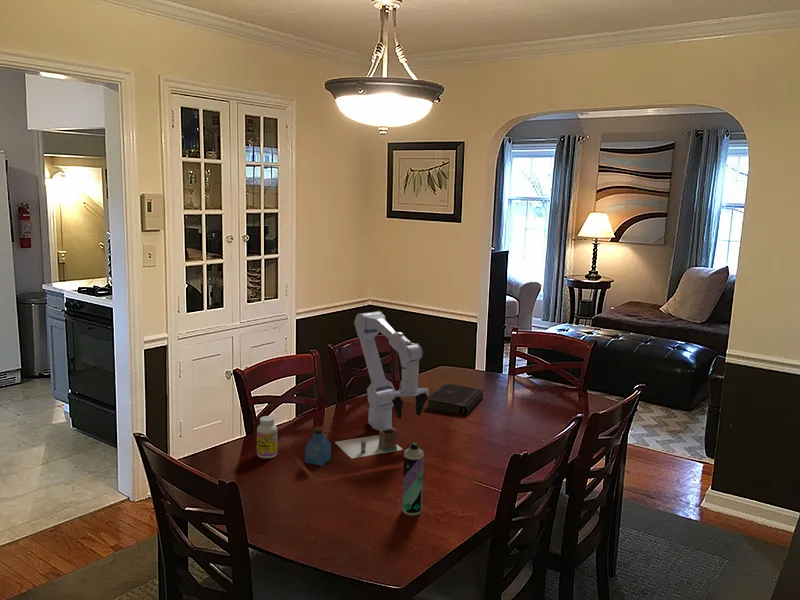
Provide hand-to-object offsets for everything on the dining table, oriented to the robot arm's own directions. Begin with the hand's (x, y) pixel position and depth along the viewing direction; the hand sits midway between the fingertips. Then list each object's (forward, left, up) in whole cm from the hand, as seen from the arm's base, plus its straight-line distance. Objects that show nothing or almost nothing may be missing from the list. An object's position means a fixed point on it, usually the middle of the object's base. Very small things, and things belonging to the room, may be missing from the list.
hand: (408, 416), depth 237 cm
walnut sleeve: (+4, -10, -9) cm, 14 cm away
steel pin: (+4, -19, -9) cm, 21 cm away
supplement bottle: (-9, -48, -10) cm, 50 cm away
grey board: (0, -15, -10) cm, 18 cm away
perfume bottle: (+4, -35, -10) cm, 37 cm away
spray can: (+44, -22, -10) cm, 50 cm away
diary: (-30, +38, -11) cm, 50 cm away
